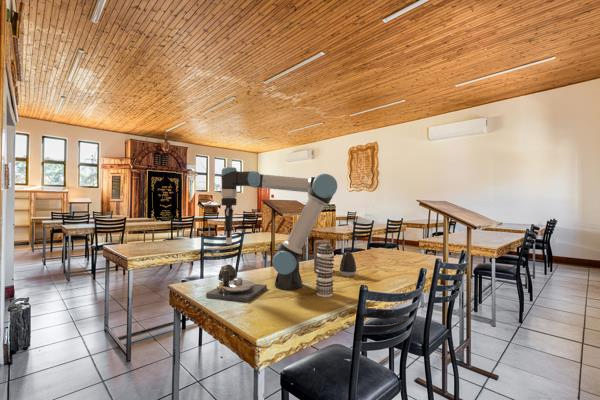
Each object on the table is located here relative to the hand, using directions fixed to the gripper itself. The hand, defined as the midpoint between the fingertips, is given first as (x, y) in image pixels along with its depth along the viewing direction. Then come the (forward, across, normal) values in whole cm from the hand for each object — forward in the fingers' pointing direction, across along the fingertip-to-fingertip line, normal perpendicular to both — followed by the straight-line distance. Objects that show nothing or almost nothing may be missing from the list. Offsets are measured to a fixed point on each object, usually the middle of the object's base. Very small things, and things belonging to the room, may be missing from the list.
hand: (228, 243), depth 151 cm
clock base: (+24, +3, +5) cm, 25 cm away
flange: (+21, +3, +4) cm, 22 cm away
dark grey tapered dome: (+25, -26, +69) cm, 78 cm away
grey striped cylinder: (+25, -40, +56) cm, 73 cm away
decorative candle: (+25, +8, +48) cm, 55 cm away
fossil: (+25, -25, -4) cm, 35 cm away
